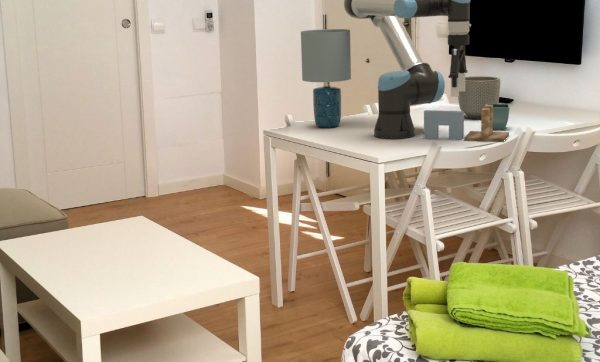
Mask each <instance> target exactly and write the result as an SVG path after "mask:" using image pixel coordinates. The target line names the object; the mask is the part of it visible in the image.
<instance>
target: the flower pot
mask: <svg viewBox="0 0 600 362" xmlns="http://www.w3.org/2000/svg"><path fill="white" fill-rule="evenodd" d="M486 105H493V131H494V130H496V131H497V130H500V131H502V130H505V129H506V127H507V125H508V122H509V116H510V108H511V107H510V104H509V103H498V104H486Z"/></svg>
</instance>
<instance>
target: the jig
mask: <svg viewBox="0 0 600 362" xmlns="http://www.w3.org/2000/svg"><path fill="white" fill-rule="evenodd" d="M480 122H481V123H480V124H481V125H480V129H481V130H480V131H479V130H478V131H477V130H470V131H469V132H468V133H467V134H466V135H464V139H463V140H464V141H465V142H490V143H491V142H492V143H495V142H496V143H502V142H501V141H504V140H505V139H506V138H507V137H508V138H509V135H510V132H509V131H494V130H493V105H486V106H485V108H483V109H482V110H481V119H480ZM508 138H507V139H508ZM507 139H506V140H507ZM506 140H505V141H506Z"/></svg>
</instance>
